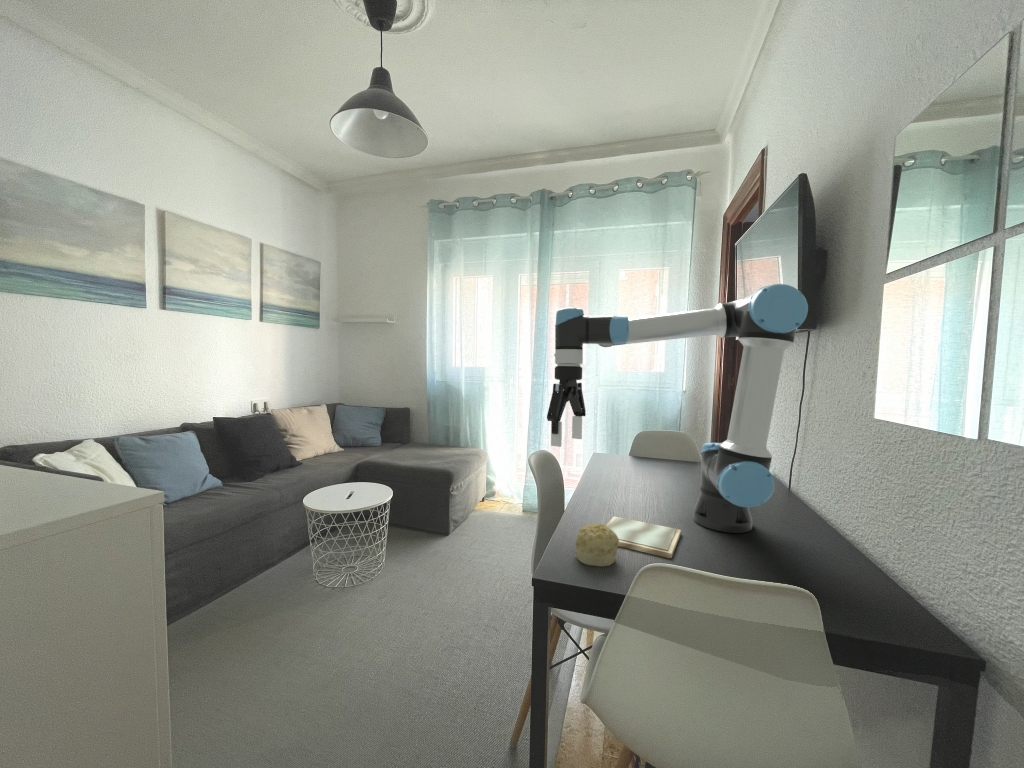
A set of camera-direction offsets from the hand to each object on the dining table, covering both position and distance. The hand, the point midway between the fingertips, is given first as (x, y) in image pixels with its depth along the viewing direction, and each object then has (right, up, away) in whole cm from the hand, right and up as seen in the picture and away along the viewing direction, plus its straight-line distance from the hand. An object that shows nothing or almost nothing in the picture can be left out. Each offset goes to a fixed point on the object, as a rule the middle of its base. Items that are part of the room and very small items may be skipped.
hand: (567, 442), depth 111 cm
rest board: (+18, -24, -7) cm, 31 cm away
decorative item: (+4, -24, -18) cm, 31 cm away
